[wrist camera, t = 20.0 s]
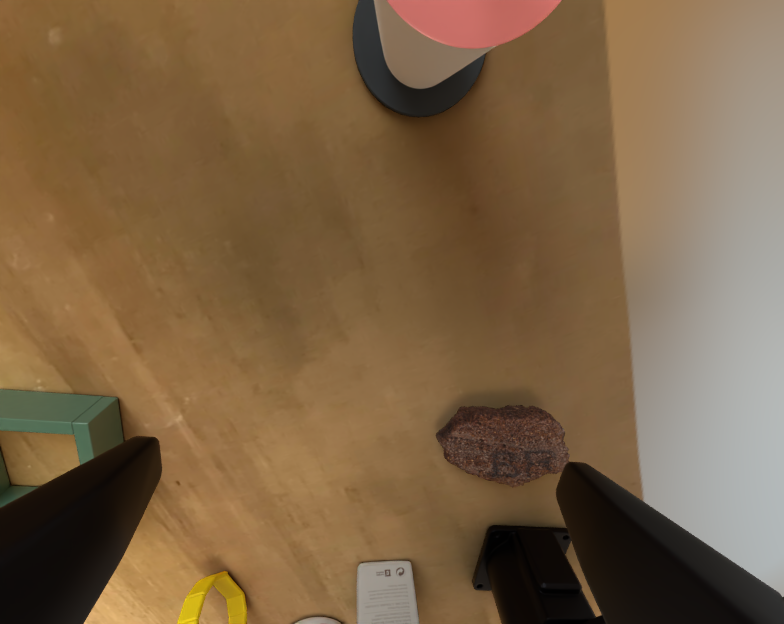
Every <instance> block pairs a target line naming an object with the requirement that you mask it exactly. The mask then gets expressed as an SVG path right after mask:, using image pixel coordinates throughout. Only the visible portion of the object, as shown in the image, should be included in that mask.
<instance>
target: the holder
mask: <svg viewBox="0 0 784 624" xmlns="http://www.w3.org/2000/svg"><path fill="white" fill-rule="evenodd" d="M0 430H2V431H19V432H36V433H53V434H70V435H73V434H74V436H75V441H76V446H77V451H78V456H79V461H80V465H81V464H83V463H85V462H87V461H89V460H91V459H93V458H95V457H97V456H98V455H100V454H102V453H104V452H106V451H108V450H110V449H112V448H114V447H115V446H117V445H119V444H121V443H123V442H124V438H123V432H122V425H121V418H120V411H119V404H118V398H117V397H103V396H92V395H78V394H63V393H49V392H35V391H21V390H7V389H0ZM36 488H38V487H31V486H11V485H10V482H9V478H8V475H7V471H6V468H5V464H4V461H3V457H2V454H1V450H0V507H2V506H4V505H6V504H8V503H10V502H12V501H14V500H15V499H17V498H19V497H21V496H23V495H25V494H27V493H29V492H31V491H32V490H34V489H36Z"/></svg>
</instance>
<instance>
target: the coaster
mask: <svg viewBox="0 0 784 624" xmlns="http://www.w3.org/2000/svg"><path fill="white" fill-rule="evenodd" d="M353 48H354V54H355V60H356V63H357V66H358V70H359V72H360V74H361V77H362V79H363V81H364V83H365V84H366V86H367V88H368V89H369V90H370V92H371V93H372V94H373V95H374V96H375V97H376V98H377V99H378V100H379V101H380V102H381V103H382V104H383V105H385V106H386V107H387V108H389V109H391V110H393V111H394V112H397V113H399V114H402V115H406V116H410V117H427V116H432V115H436V114H438V113H441V112H443V111H445V110H447V109H449V108H451V107H452V106H453V105H455V104H456V103H457V102H458V101H460V100H461V99H462V98H463V97H464V96H465V95H466V93H467V92H468V91H469V90H470V89H471V87H472V86H473V84H474V82H475V81H476V79H477V77H478V75H479V73H480V71H481V68H482V65H483V63H484V59H485V55H486V53H485V54H483V55H482V56H480V57H479V58H477V59H476V60H474V61H473V62H471V63H470V64H468V65H467V66H465V67H464V68H462V69H461V70H459V71H458V72H456V73H455V74H453V75H452V76H450V77H448V78H447V79H445V80H443V81H442V82H440V83H438V84H437V85H435V86H432V87H429V88H425V89H416V88H412V87H409V86H406V85H404V84H403V83H401V82H400V81H399V80H397V79H396V78H395V76H394V75H393V74H392V73H391V71H390V70H389V68H388V66H387V64H386V61H385V58H384V54H383V49H382V44H381V39H380V34H379V28H378V22H377V16H376V10H375V4H374V0H359V2H358V5H357V8H356V12H355V16H354V23H353Z"/></svg>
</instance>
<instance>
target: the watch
mask: <svg viewBox="0 0 784 624" xmlns="http://www.w3.org/2000/svg"><path fill="white" fill-rule="evenodd" d="M212 586H214V587H215V588H216V589H217V590H218V591H219V592H220V593H221V594H222V595H223V596H224V597H225V598H226V602H227V609H228V616H229V621H228V624H247V613H246V612H247V606H246V600H245V594H244V592H243V591H242V590H241V589H240V588H239V586H238V585H237V584H236V583H235V582H234V581H233V580H232V578H231V577H230V576H229V575H228V572H226V571H223V572H220V573H216V574H213V575H210V576H207V577H205V578H203V579H201V580H199V581H198V582H197V583H196V584H195V585H194V587H193V588H192V590H191V591H190V592H189V594H188V595H187V597H186V599H185V601H184V604H183V607H182V610H181V613H180V616H179V619H178V622H177V624H199V620H198V619H199V617H200V614H201V610H202V607H203V603H204V600H205V596H206V595H207V593H208V592H209V590H210V589H211V587H212Z"/></svg>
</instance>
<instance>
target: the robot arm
mask: <svg viewBox="0 0 784 624" xmlns="http://www.w3.org/2000/svg"><path fill="white" fill-rule="evenodd" d="M161 473H162V463H161V454H160V444H159V441H158V439H157V438H155V437H145V436H136V437H133V438H131V439H129V440H127V441H125V442H123V443H121V444H119V445H117V446H115V447H114V448H112V449H110V450H108V451H106V452H104V453H102V454H100V455H98V456H97V457H95V458H93V459H91V460H89V461H87V462H85V463H83V464H81V465H80V466H78V467H76V468H74V469H72V470H70V471H68V472H66V473H65V474H63V475H61V476H59V477H57V478H55V479H53V480H51V481H49V482H48V483H46V484H44V485H42V486H40V487H38V488H36V489H34V490H32V491H31V492H29V493H27V494H25V495H23V496H21V497H19V498H17V499H15V500H14V501H12V502H10V503H8V504H6V505H4V506H2V507H0V624H83V623H84V622H85V620H86V618H87V617H88V615H89V613H90V612H91V610H92V608H93V607H94V605H95V603H96V602H97V600H98V598H99V597H100V595H101V593H102V591H103V590H104V588H105V586H106V585H107V583H108V581H109V580H110V578H111V576H112V575H113V573H114V571H115V570H116V568H117V566H118V564H119V563H120V561H121V559H122V557H123V555H124V553H125V551H126V549H127V547H128V545H129V543H130V541H131V539H132V537H133V535H134V533H135V531H136V529H137V526H138V524H139V522H140V520H141V518H142V516H143V514H144V512H145V510H146V508H147V505H148V503H149V501H150V499H151V497H152V495H153V493H154V491H155V489H156V487H157V484H158V482H159V480H160V477H161ZM556 497H557V501H558V504H559V507H560V510H561V513H562V515H563V518H564V521H565V524H566V527H567V528H554V527H528V526H503V525H493V526H490V527H489V528H488V530H487V533H486V536H485V540H484V543H483V546H482V550H481V553H480V556H479V560H478V563H477V567H476V570H475V573H474V577H473V580H472V583H473V587H474V589H475V590H487V591H492V593H493V596H494V600H495V603H496V606H497V609H498V613H499V616H500V619H501V623H502V624H784V597H782V596H781V595H780V593H778V592H777V591H776V590H774V589H773V588H771V587H769V586H768V585H766V584H765V583H764V582H762V581H761V580H759V579H757V578H756V577H755V576H753V575H752V574H750V573H749V572H747V571H746V570H744V569H743V568H741V567H740V566H738V565H737V564H735V563H734V562H732V561H731V560H729V559H728V558H726V557H725V556H723V555H722V554H720V553H719V552H717V551H716V550H714V549H713V548H712V547H710V546H708V545H707V544H706V543H704V542H702V541H701V540H700V539H698V538H697V537H695V536H694V535H692V534H691V533H689V532H688V531H686V530H685V529H683V528H682V527H680V526H679V525H677V524H676V523H674V522H673V521H671V520H670V519H668V518H667V517H665V516H664V515H662V514H661V513H659V512H658V511H656V510H655V509H653V508H652V507H650V506H649V505H648V504H646V503H645V502H643V501H642V500H640V499H639V498H637V497H636V496H634V495H633V494H631V493H630V492H628V491H627V490H625V489H624V488H622V487H621V486H619V485H618V484H616V483H615V482H613V481H612V480H610V479H609V478H607V477H606V476H604V475H603V474H601V473H600V472H598V471H597V470H595V469H594V468H592V467H591V466H589V465H588V464H586V463H581V462H568V463H567V464H566V465H565V466H564V469H563V472H562V474H561V477H560V480H559V483H558V485H557V488H556ZM571 541H572V544H573V547H574V550H575V552H576V555H577V558H578V561H579V563H580V566H581V568H582V571H583V573H584V576H585V578H586V580H587V583H588V585H589V587H590V589H591V592H592V594H593V596H594V598H595V600H596V603H597V605H598V607H599V609H600V611H601V614H602V615H601V616H598V617H596V616H595V614H594V612H593V610H592V608H591V607H590V605H589V603H588V601H587V599H586V597H585V595H584V593H583V591H582V586H581V584H580V582H579V580H578V578H577V576H576V574H575V572H574V571H573V569H572V567H571V565H570V563H569V561H568V559H567V557H566V555H565V554H566V552H567V549H568V547H569V544H570V542H571Z"/></svg>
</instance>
